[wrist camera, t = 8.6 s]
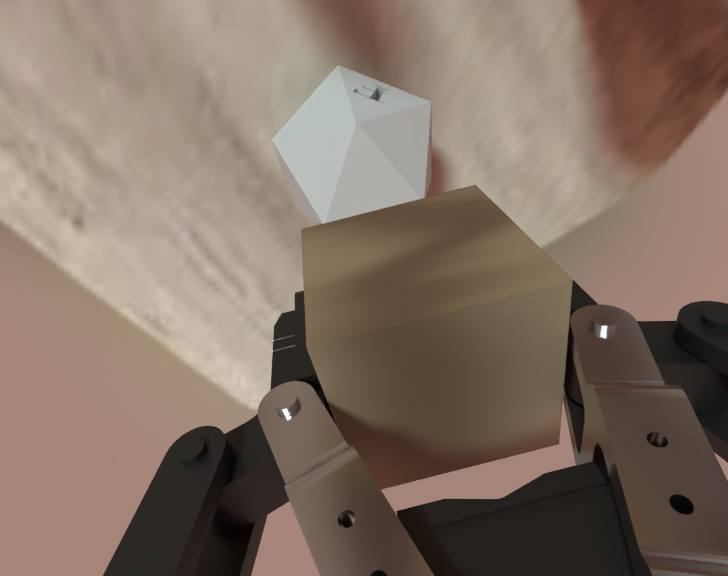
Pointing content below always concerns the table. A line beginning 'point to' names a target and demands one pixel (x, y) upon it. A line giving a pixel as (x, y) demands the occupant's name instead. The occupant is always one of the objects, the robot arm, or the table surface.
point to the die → (356, 148)
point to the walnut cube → (436, 334)
